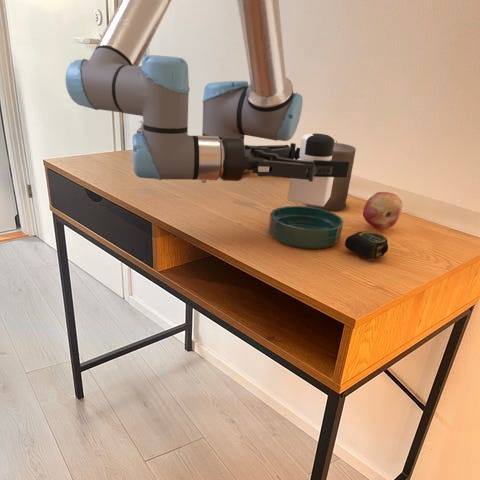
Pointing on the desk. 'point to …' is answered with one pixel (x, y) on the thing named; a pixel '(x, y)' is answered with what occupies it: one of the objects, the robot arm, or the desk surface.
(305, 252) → the desk surface
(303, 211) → the bowl
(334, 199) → the pillar candle
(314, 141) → the medicine bottle
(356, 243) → the tape measure
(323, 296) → the desk surface
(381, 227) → the fruit
